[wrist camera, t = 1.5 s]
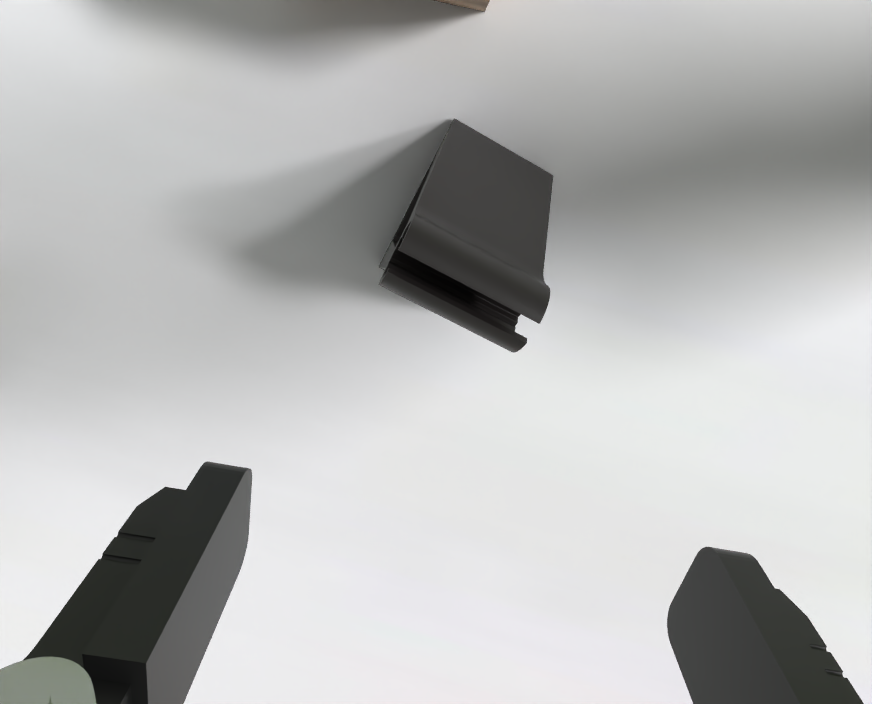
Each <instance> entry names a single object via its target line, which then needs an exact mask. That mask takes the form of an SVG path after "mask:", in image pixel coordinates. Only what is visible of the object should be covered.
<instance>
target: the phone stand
mask: <svg viewBox="0 0 872 704" xmlns="http://www.w3.org/2000/svg"><path fill="white" fill-rule="evenodd" d="M552 181H553V175H551V174H550V173H548V172H546V171H544V170H543V169H541V168H539V167H537V166H536V165H534V164H532V163H531V162H529V161H527V160H525V159H524V158H522V157H520V156H518V155H517V154H515V153H513V152H512V151H510V150H508V149H506V148H505V147H503V146H501V145H499V144H498V143H496V142H494V141H493V140H491V139H489V138H487V137H486V136H484V135H482V134H480V133H479V132H477V131H475V130H474V129H472V128H470V127H468V126H467V125H465V124H463V123H461V122H460V121H458V120H456V119H455V118H454V120H453V122H452V124H451V126H450V128H449V130H448V131H447V133H446V135H445V137H444V139H443V141H442V143H441V145H440V147H439V149H438V151H437V153H436V155H435V157H434V159H433V161H432V163H431V165H430V167H429V169H428V171H427V173H426V175H425V177H424V179H423V181H422V183H421V185H420V187H419V189H418V191H417V193H416V195H415V197H414V199H413V200H412V202H411V204H410V206H409V208H408V210H407V212H406V214H405V216H404V218H403V220H402V222H401V224H400V226H399V228H398V230H397V232H396V234H395V236H394V238H393V240H392V242H391V244H390V246H389V248H388V250H387V252H386V254H385V256H384V257H383V259H382V261H381V263H380V266H379V268H381V269H383V270H384V273H383V276H382V278H381V280H380V283H379V285H381V286H383V287H385V288H386V289H388V290H390V291H392V292H394V293H396V294H398V295H400V296H402V297H404V298H406V299H408V300H410V301H412V302H414V303H416V304H418V305H420V306H422V307H424V308H426V309H428V310H430V311H432V312H434V313H436V314H438V315H440V316H442V317H444V318H446V319H448V320H450V321H452V322H454V323H456V324H458V325H460V326H462V327H464V328H466V329H467V330H469V331H471V332H473V333H475V334H477V335H479V336H481V337H483V338H485V339H487V340H489V341H491V342H493V343H495V344H497V345H499V346H501V347H503V348H505V349H507V350H509V351H511V352H517V351H519V350H520V349H521V348H522V347H523V346H524V345H525V344H526V343H527V338H525V337H523V336H521V335H520V334H518V333H516V332H514V331H515V325H516V324H517V322H518V317H519V316H520V314H522V315H524V316H525V317H527V318H529V319H531V320H533V321H535V322H537V323H539V324H540V322H541V320H542V318H543V316H544V314H545V311H546V308H547V306H548V302H549V298H550V288H549V287H548V286H547V285H546V284H545V282H544V278H543V269H544V259H545V250H546V240H547V230H548V220H549V211H550V201H551V191H552Z"/></svg>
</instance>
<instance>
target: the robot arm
mask: <svg viewBox="0 0 872 704" xmlns="http://www.w3.org/2000/svg"><path fill="white" fill-rule="evenodd" d="M251 486H252V472H251V469H249V468H243V467H237V466H231V465H225V464H219V463H213V462H205V463H204V464H203V465H202V466H201V467H200V469H199V470H198V472H197V474H196V475H195V477H194V478H193V480H192V481H191V483H190V485H189V486H188V488H187V489H186V490H181V489H175V488H169V487H164V488H163V489H162V490H160V491H159V492H157V493H156V494H154V495H153V496H151V497H150V498H148V499H147V500H145V501H144V502H143V503H141V504H140V505H138V506H137V507H136V508H135V510H134V511H133V512H132V514H131V515H130V517H129V518H128V519H127V521H126V522H125V524H124V525H123V526H122V528H121V529H120V530H119V532H118V536H117V537H114V539H113V540H112V541H111V543H110V544H109V546H108V547H107V548H106V550H105V551H104V552H103V556H102V558H101V559H98V561H97V562H96V564H95V565H94V566H93V568H92V569H91V570H90V572H89V573H88V575H87V576H86V577H85V579H84V580H83V581H82V583H81V584H80V586H79V587H78V588H77V590H76V591H75V592H74V594H73V595H72V597H71V598H70V599H69V601H68V602H67V604H66V605H65V606H64V608H63V609H62V610H61V612H60V613H59V615H58V616H57V617H56V619H55V620H54V621H53V623H52V624H51V626H50V627H49V628H48V630H47V631H46V632H45V634H44V635H43V637H42V638H41V639H40V641H39V642H38V644H37V645H36V646H35V647H34V649H33V650H32V651H31V652H30V653H29V655H28V656H27V657H26V658H25V659H24V660H23V661H20V662H17V663H14V664H12V665H9V666H7V667H5V668H2V669H0V704H183V703H184V701H185V699H186V696H187V694H188V692H189V689H190V687H191V685H192V682H193V680H194V677H195V675H196V673H197V670H198V668H199V666H200V663H201V661H202V659H203V656H204V654H205V652H206V649H207V647H208V645H209V642H210V640H211V638H212V635H213V633H214V631H215V628H216V626H217V623H218V621H219V619H220V616H221V614H222V612H223V609H224V607H225V605H226V602H227V600H228V598H229V595H230V593H231V591H232V588H233V586H234V584H235V581H236V579H237V577H238V574H239V572H240V569H241V566H242V563H243V560H244V556H245V552H246V548H247V542H248V535H249V519H250V503H251ZM667 628H668V636H669V640H670V643H671V646H672V649H673V651H674V654H675V656H676V659H677V662H678V664H679V667H680V670H681V672H682V675H683V678H684V680H685V683H686V686H687V688H688V691H689V693H690V696H691V699H692V701H693V704H864V703H863V702H862V700H861V699H860V697H859V696H858V694H857V693H856V691H855V690H854V688H853V686H852V685H851V683H850V682H849V680H848V679H847V678H844V677H843V675H842V672H843V671H842V669H841V668H840V666H839V665H838V663H837V662H836V660H835V659H834V657H833V656H832V654H831V652H827V651H826V647H827V646H826V645H825V643H824V642H823V640H822V639H821V637H820V635H819V634H818V632H817V631H816V629H815V628H814V626H813V625H812V623H811V622H810V620H809V618H808V617H807V616H806V615H805V614H804V613H803V612H802V611H801V610H800V609H799V608H798V607H797V606H796V605H795V604H794V603H793V602H792V601H791V600H790V599H789V598H788V597H787V596H786V595H785V594H784V593H783V592H782V591H781V590H780V589H775V588H774V587H773V585H772V584H771V582H770V580H769V579H768V577H767V575H766V574H765V572H764V571H763V569H762V567H761V566H760V564H759V563H758V561H757V560H756V559H755V558H754V557H753V556H752V555H750V554H747V553H742V552H736V551H730V550H724V549H718V548H712V547H705V548H702V549H701V550H700V551H699V552H698V554H697V555H696V557H695V559H694V561H693V563H692V565H691V567H690V568H689V570H688V572H687V574H686V576H685V578H684V580H683V582H682V584H681V585H680V587H679V589H678V591H677V593H676V595H675V597H674V599H673V601H672V603H671V605H670V608H669V611H668V619H667Z"/></svg>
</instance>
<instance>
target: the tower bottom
mask: <svg viewBox="0 0 872 704" xmlns="http://www.w3.org/2000/svg"><path fill="white" fill-rule="evenodd" d="M434 1H438V2H443V3H448V4H452V5H457V6H461V7H466V8H470V9H475V10H480V11H484V12H485V10H486V8H487V5H488V3H489V0H434Z"/></svg>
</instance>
